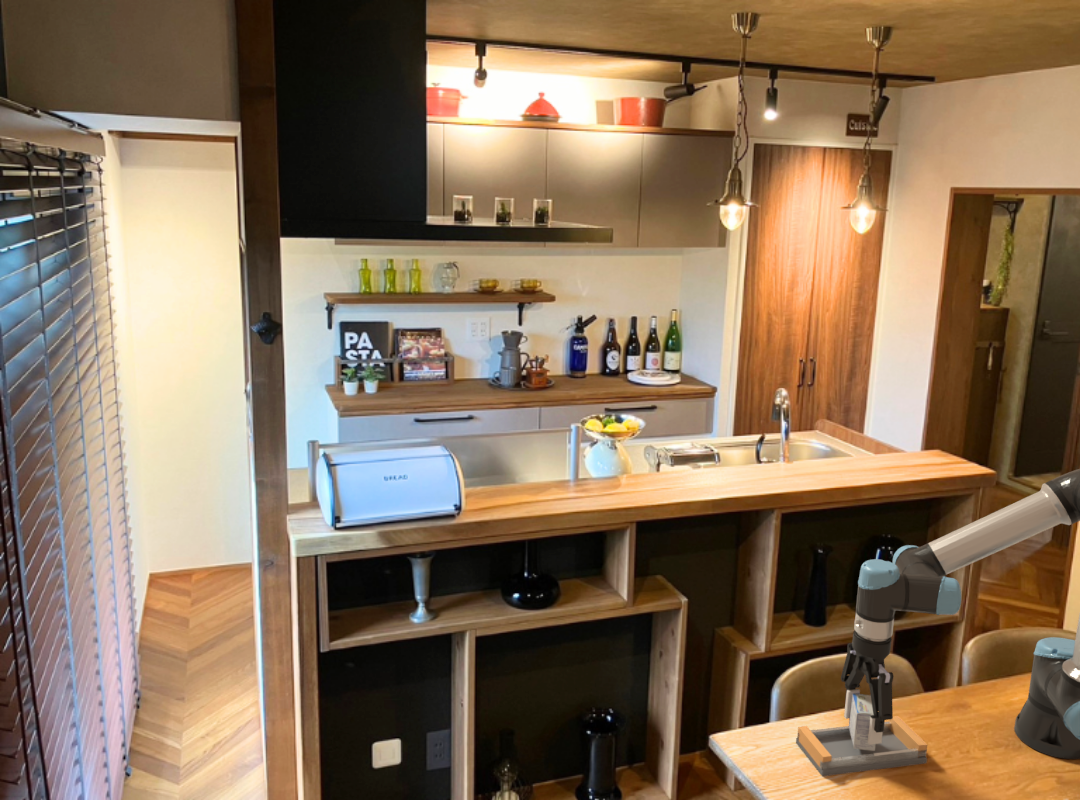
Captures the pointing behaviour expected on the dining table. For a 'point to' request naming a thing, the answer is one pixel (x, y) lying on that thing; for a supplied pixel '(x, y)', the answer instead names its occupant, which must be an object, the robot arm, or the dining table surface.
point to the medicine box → (860, 721)
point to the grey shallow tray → (838, 754)
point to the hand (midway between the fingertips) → (862, 729)
